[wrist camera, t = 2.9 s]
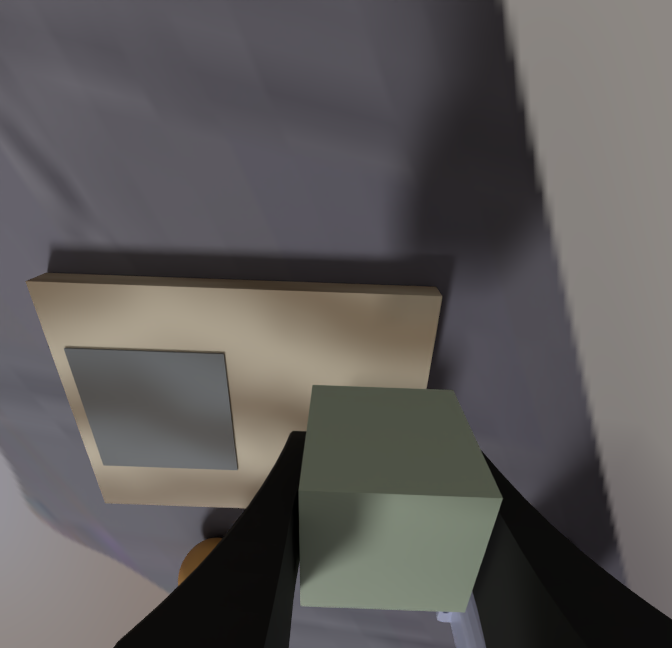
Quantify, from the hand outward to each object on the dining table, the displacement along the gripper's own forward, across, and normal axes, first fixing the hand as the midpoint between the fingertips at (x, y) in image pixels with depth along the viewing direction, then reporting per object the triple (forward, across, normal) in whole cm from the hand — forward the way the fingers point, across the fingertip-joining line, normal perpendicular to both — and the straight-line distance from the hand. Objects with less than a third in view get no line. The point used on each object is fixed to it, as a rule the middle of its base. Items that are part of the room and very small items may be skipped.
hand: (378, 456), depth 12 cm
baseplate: (+7, +6, +3) cm, 10 cm away
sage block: (+1, 0, 0) cm, 1 cm away
